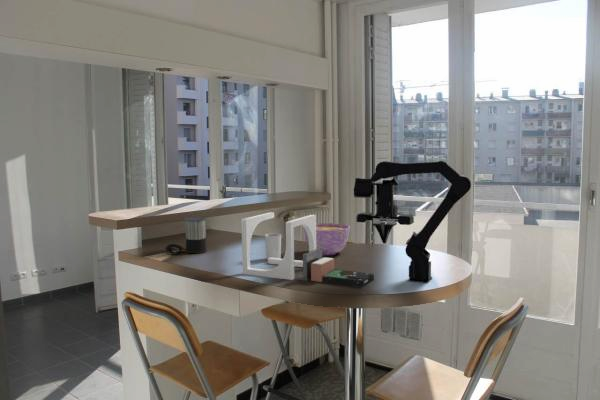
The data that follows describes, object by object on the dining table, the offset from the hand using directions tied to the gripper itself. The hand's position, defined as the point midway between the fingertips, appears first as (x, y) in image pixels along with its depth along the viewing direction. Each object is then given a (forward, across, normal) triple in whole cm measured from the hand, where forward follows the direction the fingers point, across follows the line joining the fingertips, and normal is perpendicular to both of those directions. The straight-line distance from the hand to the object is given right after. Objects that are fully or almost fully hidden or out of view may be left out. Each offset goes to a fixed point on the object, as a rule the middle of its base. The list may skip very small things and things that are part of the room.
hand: (384, 243), depth 174 cm
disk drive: (+13, +10, +9) cm, 18 cm away
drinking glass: (+12, +50, -10) cm, 52 cm away
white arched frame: (+12, +38, +5) cm, 40 cm away
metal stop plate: (+12, +24, +9) cm, 28 cm away
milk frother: (+12, +91, -6) cm, 92 cm away
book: (+12, +19, +9) cm, 24 cm away
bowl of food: (+12, +34, -29) cm, 46 cm away
